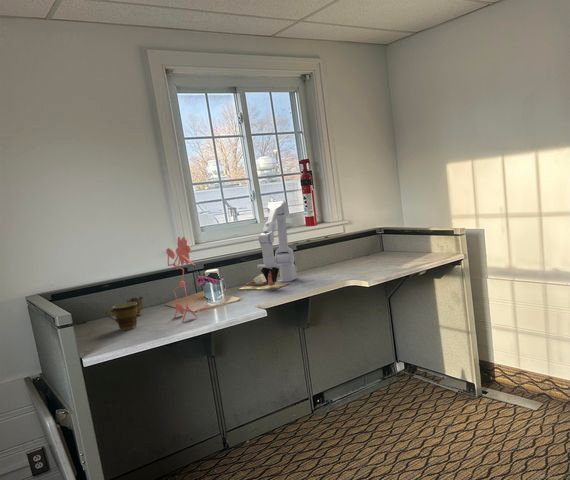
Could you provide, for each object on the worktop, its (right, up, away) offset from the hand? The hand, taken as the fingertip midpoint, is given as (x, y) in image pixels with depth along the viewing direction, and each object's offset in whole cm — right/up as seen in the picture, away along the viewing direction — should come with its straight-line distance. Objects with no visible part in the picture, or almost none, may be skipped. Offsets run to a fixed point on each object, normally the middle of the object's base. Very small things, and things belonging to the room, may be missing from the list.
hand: (271, 282), depth 262 cm
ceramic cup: (-60, -16, -50) cm, 79 cm away
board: (-4, -3, +9) cm, 10 cm away
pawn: (0, -1, 0) cm, 1 cm away
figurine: (-33, -12, -41) cm, 54 cm away
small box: (-30, -7, +4) cm, 31 cm away
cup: (-62, -14, -24) cm, 68 cm away
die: (-8, -1, +14) cm, 16 cm away
